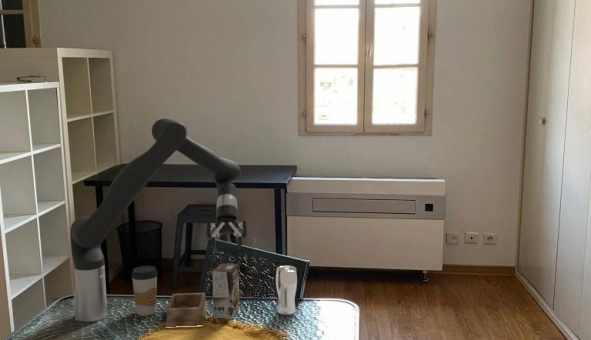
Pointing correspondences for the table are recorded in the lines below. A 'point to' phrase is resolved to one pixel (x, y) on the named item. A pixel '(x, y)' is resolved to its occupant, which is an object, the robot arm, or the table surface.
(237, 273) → the coffee box
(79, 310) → the robot arm
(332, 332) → the table surface
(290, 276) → the beer glass
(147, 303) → the coffee cup
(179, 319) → the brown open box holder
